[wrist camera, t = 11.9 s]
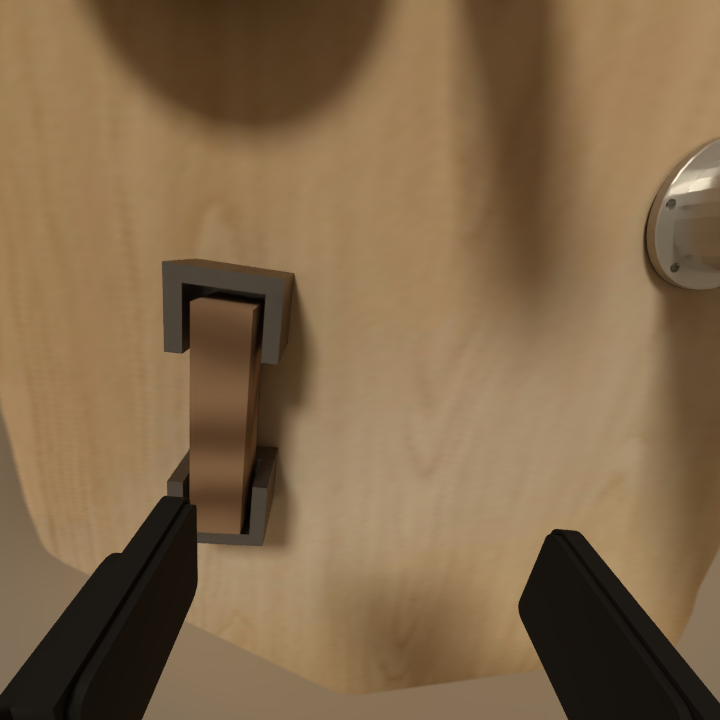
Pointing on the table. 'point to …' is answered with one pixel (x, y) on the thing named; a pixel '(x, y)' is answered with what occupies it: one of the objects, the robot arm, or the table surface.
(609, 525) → the table surface
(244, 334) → the walnut rail
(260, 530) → the bracket
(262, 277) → the bracket
